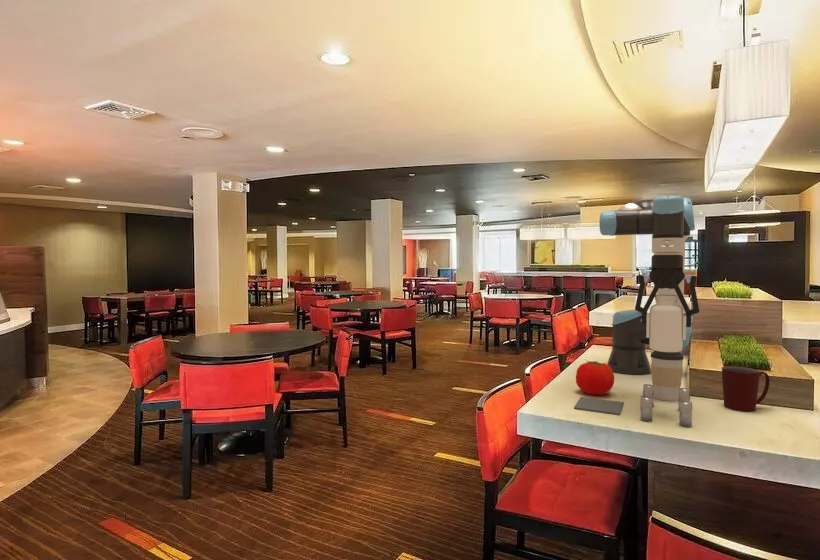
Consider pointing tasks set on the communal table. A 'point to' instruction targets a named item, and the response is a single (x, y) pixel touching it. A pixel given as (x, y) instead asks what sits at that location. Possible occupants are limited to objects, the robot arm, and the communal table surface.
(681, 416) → the spacers
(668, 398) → the coffee cup
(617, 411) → the mat
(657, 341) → the pill bottle
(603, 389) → the tomato
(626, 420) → the communal table surface
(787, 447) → the communal table surface
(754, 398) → the mug
